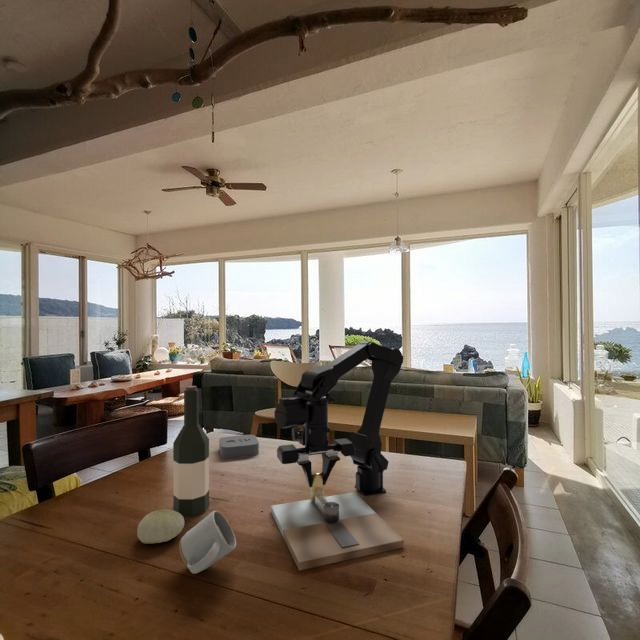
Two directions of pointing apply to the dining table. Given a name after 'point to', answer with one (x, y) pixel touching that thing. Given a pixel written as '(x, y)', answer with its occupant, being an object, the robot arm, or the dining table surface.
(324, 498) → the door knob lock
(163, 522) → the sea urchin shell
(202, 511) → the wine bottle
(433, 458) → the dining table surface
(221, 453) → the streaming box
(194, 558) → the ceramic mug
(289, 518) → the door board
